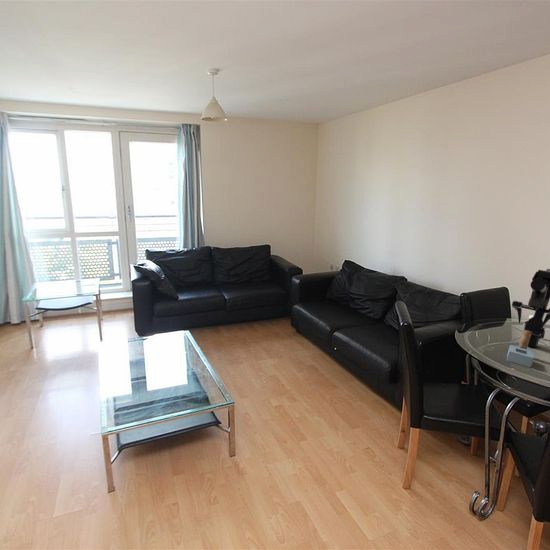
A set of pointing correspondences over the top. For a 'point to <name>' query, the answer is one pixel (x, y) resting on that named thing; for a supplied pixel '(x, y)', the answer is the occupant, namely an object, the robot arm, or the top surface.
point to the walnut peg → (525, 339)
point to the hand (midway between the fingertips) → (530, 325)
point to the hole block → (520, 356)
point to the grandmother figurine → (529, 318)
